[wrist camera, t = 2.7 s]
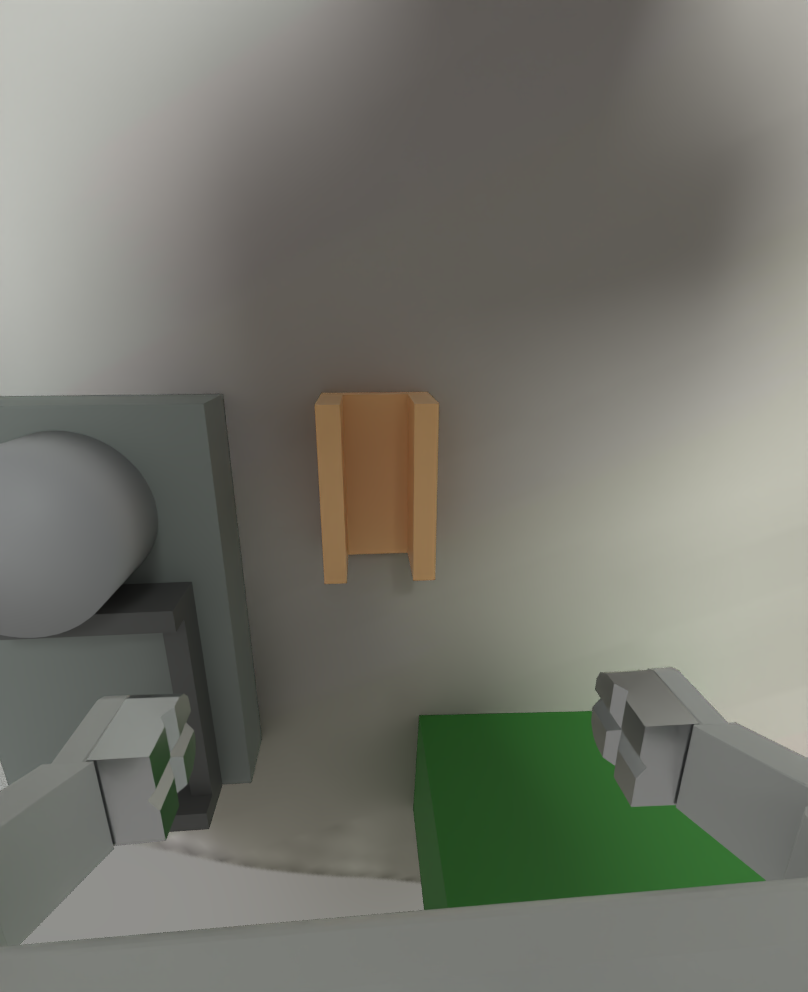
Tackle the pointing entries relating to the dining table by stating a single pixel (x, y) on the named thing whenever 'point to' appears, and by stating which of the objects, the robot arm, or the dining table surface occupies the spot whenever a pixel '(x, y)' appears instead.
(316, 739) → the dining table surface
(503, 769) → the hardback book
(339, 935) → the robot arm
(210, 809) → the panel with grey ball
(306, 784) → the dining table surface
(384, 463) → the chute
